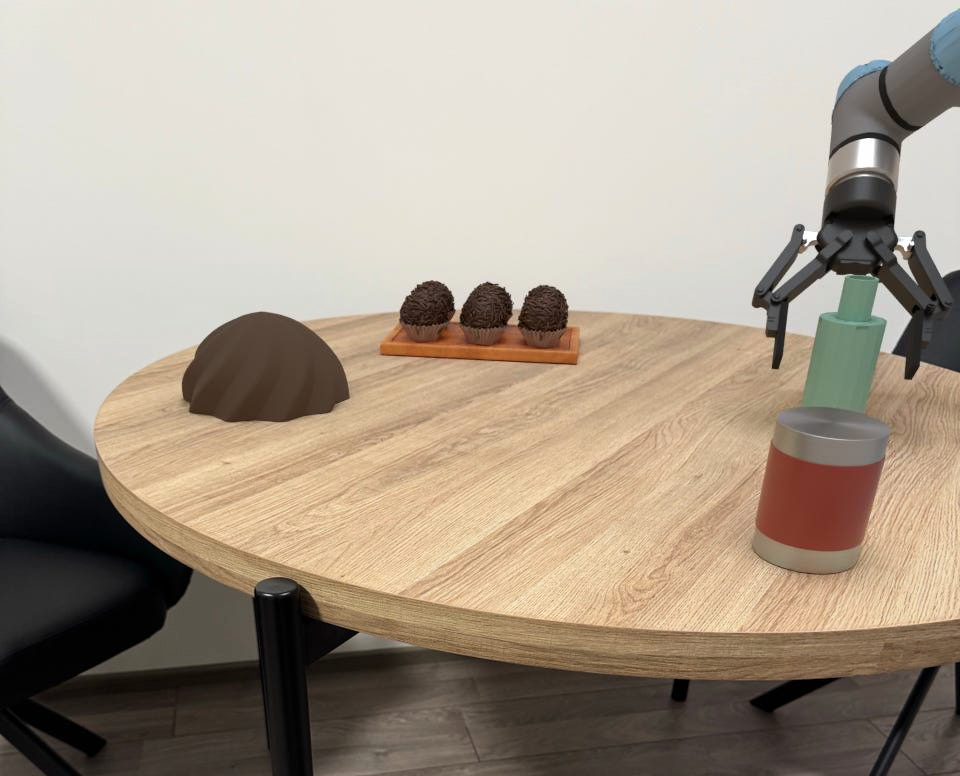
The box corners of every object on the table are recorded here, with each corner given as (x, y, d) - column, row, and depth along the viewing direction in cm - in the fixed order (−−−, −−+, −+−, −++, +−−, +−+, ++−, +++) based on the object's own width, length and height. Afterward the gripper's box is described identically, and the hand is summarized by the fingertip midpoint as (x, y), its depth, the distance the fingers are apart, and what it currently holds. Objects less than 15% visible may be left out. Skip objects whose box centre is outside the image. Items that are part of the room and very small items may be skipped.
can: (840, 532, 79) (871, 408, 73) (872, 577, 72) (909, 442, 66) (741, 528, 79) (764, 404, 74) (762, 572, 72) (790, 438, 66)
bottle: (846, 431, 104) (884, 273, 95) (864, 450, 98) (906, 284, 89) (788, 429, 104) (820, 271, 95) (803, 448, 98) (838, 282, 89)
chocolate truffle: (579, 338, 141) (583, 280, 136) (577, 364, 127) (581, 301, 122) (401, 329, 143) (400, 273, 139) (380, 355, 129) (378, 292, 125)
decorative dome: (328, 371, 121) (323, 292, 116) (364, 414, 105) (360, 325, 100) (178, 381, 115) (165, 299, 110) (191, 429, 99) (178, 335, 94)
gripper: (967, 226, 102) (957, 396, 97) (740, 215, 106) (719, 376, 101) (994, 177, 94) (984, 357, 90) (749, 167, 99) (726, 338, 94)
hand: (843, 368), depth 95 cm, fingers open, 13 cm apart
